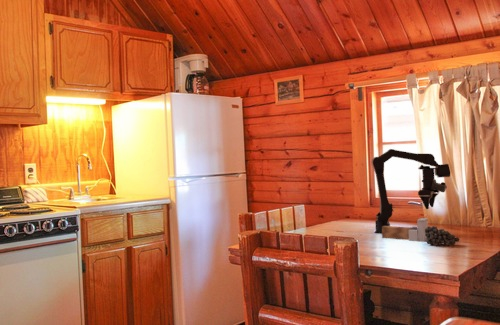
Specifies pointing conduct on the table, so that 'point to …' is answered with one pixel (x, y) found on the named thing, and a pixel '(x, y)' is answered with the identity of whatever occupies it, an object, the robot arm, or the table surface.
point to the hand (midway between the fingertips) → (429, 208)
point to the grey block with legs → (419, 230)
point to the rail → (396, 232)
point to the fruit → (439, 236)
